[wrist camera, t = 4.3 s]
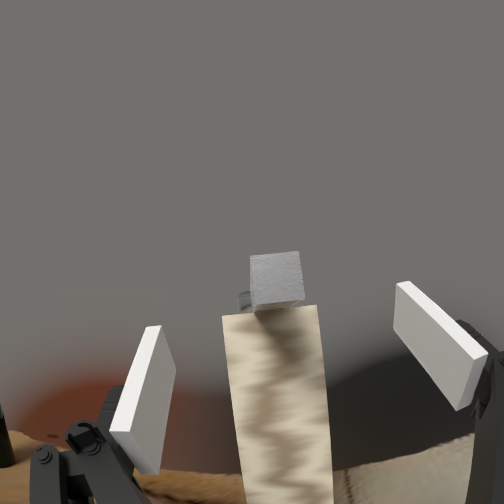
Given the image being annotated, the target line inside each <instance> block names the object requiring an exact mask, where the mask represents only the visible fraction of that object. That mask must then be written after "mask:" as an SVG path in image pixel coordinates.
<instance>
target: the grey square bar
mask: <svg viewBox="0 0 504 504" xmlns="http://www.w3.org/2000/svg"><path fill="white" fill-rule="evenodd" d="M304 299H305V294H304V286H303V279H302V272H301V265H300V258H299V252H298V251H293V252H283V253H274V254H265V255H256V256H250V291H247V292H242V293H239V294H237V300H238V309H239V314H247V313H256V312H265V311H273V310H281V309H289V307H290V306H292V305H294V304H296V303H298V302H300V301H302V300H304Z"/></svg>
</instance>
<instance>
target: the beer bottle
mask: <svg viewBox="0 0 504 504" xmlns="http://www.w3.org/2000/svg"><path fill="white" fill-rule="evenodd" d="M14 462H15V456H14V452H13V448H12V445H11V441H10V437H9V434H8V430H7V426H6V422H5V418H4V414H3V410H2V405H1V402H0V467H7V466H10V465H12V464H13V463H14Z"/></svg>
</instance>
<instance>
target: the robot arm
mask: <svg viewBox="0 0 504 504" xmlns="http://www.w3.org/2000/svg"><path fill="white" fill-rule="evenodd" d="M393 329H394V331H395V332H396V333H397V334H398V336H399V337H400V338H401V339H402V341H403V342H404V343H405V344H406V346H407V347H408V348H409V349H410V351H411V352H412V353H413V354H414V356H415V357H416V358H417V359H418V361H419V362H420V363H421V365H422V366H423V367H424V369H425V370H426V371H427V372H428V374H429V375H430V376H431V378H432V379H433V380H434V382H435V383H436V384H437V385H438V387H439V388H440V390H441V391H442V392H443V394H444V395H445V396H446V398H447V399H448V400H449V401H450V403H451V404H452V406H453V407H454V409H455V410H456V411H457V410H459V409H462V408H464V407H466V406H468V405H470V403H471V401H472V398H473V396H474V394H475V395H476V397H477V398H478V402H477V404H476V406H475V409H474V411H473V413H472V416H471V418H474V416H475V413H476V424H475V438H474V449H473V458H472V466H471V474H470V480H469V486H468V492H467V497H466V503H465V504H504V351H501V352H499V351H498V350H497V349H496V348H494V346H493V345H492V344H490V343H489V342H488V341H487V340H486V339H485V338H484V337H483V336H481V334H479V333H478V332H477V331H475V329H474V328H473V327H472V326H471V325H470V324H468V323H466V322H464V321H462V320H457V321H454V320H453V319H452V318H451V317H449V316H448V315H447V314H446V313H445V312H444V311H443V310H442V309H441V308H440V307H438V306H437V305H436V304H435V303H434V302H433V301H431V299H429V298H428V297H427V296H426V295H425V294H424V293H422V292H421V291H420V290H419V289H418V288H417V287H416V286H414V285H413V284H412V283H411V282H410V281H406V282H402V283H398V284H396V300H395V315H394V327H393ZM175 373H176V367H175V364H174V361H173V359H172V356H171V353H170V350H169V347H168V344H167V341H166V339H165V336H164V333H163V330H162V327H161V326H152V327H147V328H146V330H145V332H144V335H143V337H142V340H141V343H140V345H139V348H138V350H137V353H136V356H135V358H134V361H133V364H132V366H131V369H130V372H129V375H128V377H127V380H126V383H125V385H115V386H114V387H113V388H112V389H111V390H110V391H109V392H108V393H107V396H106V398H105V401H104V404H103V406H102V409H101V412H100V414H99V416H98V419H97V422H96V424H94V423H93V422H91V421H89V420H82V421H78V422H76V423H74V424H72V425H71V426H70V427H69V428H68V429H67V431H66V434H65V441H66V442H67V443H68V445H69V446H70V447H71V448H72V450H69V451H64V452H59V451H58V450H57V449H56V448H55V446H52V445H43V446H40V447H38V448H37V449H36V450H35V451H34V452H33V454H32V457H31V466H30V504H94V498H95V500H96V502H97V504H152V503H151V502H150V500H149V499H148V497H147V496H146V494H145V493H144V491H143V489H142V488H141V486H140V485H139V483H138V482H137V480H136V478H135V477H134V476H133V471H134V467H135V468H136V469H137V471H138V472H139V473H140V474H152V475H159V469H160V462H161V456H162V449H163V443H164V436H165V430H166V424H167V418H168V412H169V406H170V401H171V395H172V389H173V384H174V378H175ZM93 496H94V498H93Z"/></svg>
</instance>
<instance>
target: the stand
mask: <svg viewBox="0 0 504 504" xmlns="http://www.w3.org/2000/svg"><path fill="white" fill-rule="evenodd" d="M222 322H223V331H224V339H225V349H226V357H227V366H228V374H229V382H230V390H231V397H232V405H233V413H234V420H235V428H236V435H237V442H238V448H239V455H240V462H241V469H242V476H243V482H244V488H245V494H246V501H247V504H334V500H333V477H332V461H331V460H332V459H331V445H330V431H329V417H328V406H327V395H326V384H325V374H324V365H323V356H322V346H321V338H320V329H319V322H318V313H317V306H316V305H312V306H305V307H298V308H290V309H281V310H273V311H265V312H256V313H247V314H238V315H228V316H222Z"/></svg>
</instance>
